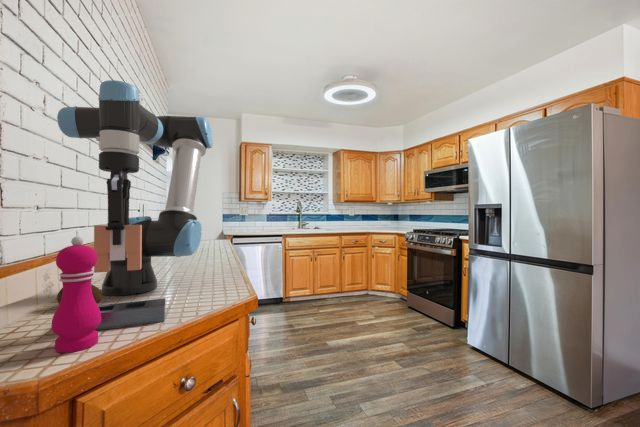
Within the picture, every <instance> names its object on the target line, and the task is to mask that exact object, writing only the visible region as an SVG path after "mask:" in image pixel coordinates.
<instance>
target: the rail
mask: <svg viewBox="0 0 640 427" xmlns="http://www.w3.org/2000/svg"><path fill="white" fill-rule="evenodd" d="M97 305H98V304H97ZM98 307H99V309H100V312H101V323H100V324H99V325H98V327H97V328H96V329H95V331H104V330H110V329H117V328H118V329H119V328H126V327H132V326H141V325H148V324H156V323H164V322H165V320H166V298H165V297H164V298H155V299H154V298H153V299H146V300H136V301H128V302H117V303H109V304H106V303H105V304H99V305H98Z"/></svg>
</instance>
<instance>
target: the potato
mask: <svg viewBox="0 0 640 427" xmlns="http://www.w3.org/2000/svg"><path fill="white" fill-rule="evenodd" d="M91 289H92V294H93V297H94V299H95V301H96V303H97V305H98V304H100V302H102V300H103V299H104V298H103V297H104V296H103V294H102V290H100V288H99V287H97V286H95V285H94V284H92V283H91ZM62 293H63V287H61V288H60V290H59V291H58V293H57V297H56V301H57V303H58V305H59V304H60V301H61V298H62Z"/></svg>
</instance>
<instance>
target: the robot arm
mask: <svg viewBox="0 0 640 427" xmlns="http://www.w3.org/2000/svg"><path fill="white" fill-rule="evenodd" d="M140 101H141V97H140V91H139V89H138V88H137V87H136V86H135V85H133V84H131V83H129V82H125V81H121V80H116V79H115V80H114V79H113V80H112V79H110V80H109V79H108V80H104V81H102V82H101V83H100V85H99V94H98V107H92V106H91V107H90V106H89V107H84V106H77V105H76V106H65V107H62V108H61V109H59V111H58V113H57V118H56V120H57V126H58V127H59V128H58V129H59V130H60V131H61V132H62V133H63V134H64V135H65V136H67V137H68V138H72V139H73V138H75V139H95V140H96V141H97V142H99V143H98V146H99V147H98V149H99V150H100V151H101V152H99V153H98V169H99V170H101V171H103V172H108V173H110V176H109V178H107V179H106V181H105V182H106V186H107V187H106V188H107V221H108V222H107V225H108V227H105V228H106V230H110V261H111V270H110V271H109V272H105V273H106V274H105V276H104V279H103V282H102V284H101V293H102V295H104V296H114V297H115V295H119V296H130V295H129V294H131V295H137V294H136V293H138V294H142V293H147V291H148V292H151V291H154V290H156V289H158V280H157V277H156V273H155V271H154V268H153V265H152V257H158V258H159V257H162V258H163V257H175V258H181V257H187V256H188V257H189V256H193V254H195V253H196V252H197V250H198V248H199V246H200V243H201V239H202V224H201V222H200V221H199V220H198V217H197V216H196V214H195V213H194V209H195V208H194V206H195V201H196V194H197V188H198V187H197V186H198V179H199V174H200V165H201V159H202V157H204V156H205V155H206V153H207V149H208V150H209V149H211V148H212V147H213V144H214V142H213V141H214V140H213V133H212V128H211V125H210V122H209V120H208V119H207V118H206V117H204V116H197V115H195V116H185V115H184V116H182V115H159V116H157V115H156V114H155V113H152V112H151V111H150V110H148V109H146V108H145V107H143V105H142V104H140ZM140 144H143V145H150V146H151V145H152V146H156V147H162V148H170V149H172V150H173V151H174V152H175V155H174V159H173V165H172V170H171V176H170V181H169V186H168V188H169V189H168V192H167V193H168V194H167V198H166V205H165V209H164V210H161V211H160V212H159V213H158V219H157V220H153V219H152V217H151V216H150V215H149V216H148V215H147V216H134V217H130V198H131V194H130V192H131V191H130V190H131V188H132V187H131V185H132V181H131V180H130V179H128V174H136V173H138V172H139V171H140V157H139V156H138V155H139V154H140ZM124 225H142V262H141V269H140V270H128V271H127V253H125V230H124V228H125V226H124ZM155 288H156V289H155ZM153 289H154V290H153Z"/></svg>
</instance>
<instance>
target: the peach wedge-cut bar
mask: <svg viewBox="0 0 640 427" xmlns="http://www.w3.org/2000/svg"><path fill="white" fill-rule="evenodd" d="M124 226H125V228H124V230H125V253H127V271H128V270H140V269H141V262H142V225H124ZM105 227H108V224H105V225H100V224H99V225H94V226H93V249H94V250H95V251H96V253H97V263H96V264H95V265H94V267H93V271H94V273H95V274H96V273H107V272H109V271H110V270H111V261H110V230H106V228H105ZM94 273H93V274H94Z"/></svg>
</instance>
